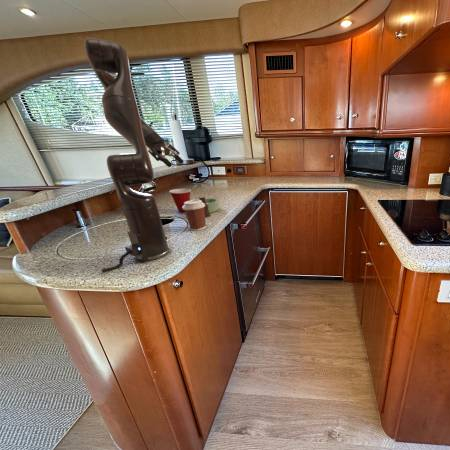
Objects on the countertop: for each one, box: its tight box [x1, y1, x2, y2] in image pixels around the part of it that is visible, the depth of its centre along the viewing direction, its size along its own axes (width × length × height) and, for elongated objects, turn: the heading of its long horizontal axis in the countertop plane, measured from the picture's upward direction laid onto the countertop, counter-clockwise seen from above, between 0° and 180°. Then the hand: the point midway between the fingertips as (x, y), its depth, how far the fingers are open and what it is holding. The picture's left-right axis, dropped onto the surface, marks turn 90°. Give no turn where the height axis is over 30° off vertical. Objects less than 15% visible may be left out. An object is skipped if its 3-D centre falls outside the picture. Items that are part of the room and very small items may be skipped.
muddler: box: [198, 196, 211, 218], centre depth 119 cm, size 4×4×10 cm
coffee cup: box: [182, 199, 207, 232], centre depth 103 cm, size 9×9×12 cm
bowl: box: [205, 197, 220, 214], centre depth 130 cm, size 13×13×6 cm
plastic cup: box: [168, 188, 192, 213], centre depth 131 cm, size 11×11×12 cm
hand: (176, 164), depth 112 cm, fingers open, 8 cm apart
